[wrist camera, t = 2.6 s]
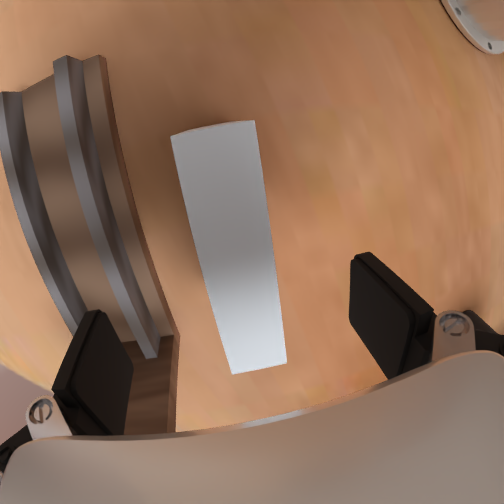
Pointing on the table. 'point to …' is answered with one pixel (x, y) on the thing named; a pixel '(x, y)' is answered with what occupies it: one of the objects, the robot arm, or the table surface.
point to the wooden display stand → (90, 225)
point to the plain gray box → (233, 239)
